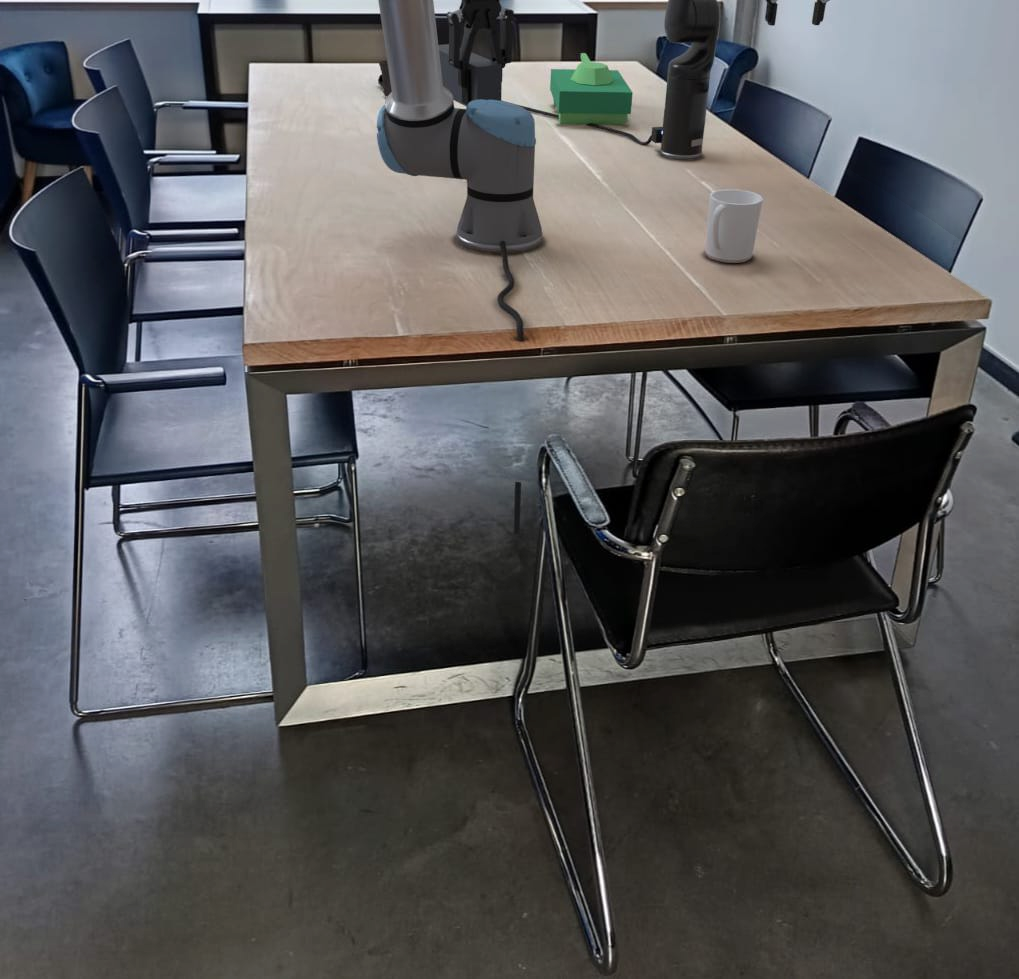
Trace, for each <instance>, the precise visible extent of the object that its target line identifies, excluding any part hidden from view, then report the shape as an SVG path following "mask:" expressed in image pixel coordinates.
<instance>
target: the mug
mask: <svg viewBox="0 0 1019 979" xmlns="http://www.w3.org/2000/svg"><path fill="white" fill-rule="evenodd" d="M708 197H709V198H708V208H707V209H708V210H707V223H706V224H707V225H706V238H705V255H706V257H708V258H709V259H711V260H714V261H716V262H719V263H720V262H721V263H728V264H738V263H745V262H748V261H750V260H751V259H752V257H753V253H754V248H755V242H756V237H757V231H758V227H759V222H760V216H761V210H762V206H763V200H764V199H763V196H762V195H760V194H759V193H756V192H753V191H750V190H744V189H736V188H735V189H734V188H725V189H717V190H713V191H711V192H710V193H709V196H708Z"/></svg>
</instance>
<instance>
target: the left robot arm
mask: <svg viewBox="0 0 1019 979" xmlns="http://www.w3.org/2000/svg"><path fill="white" fill-rule="evenodd" d="M377 2H378V7H379V14H380V22H381V27H382V34H383V40H384V48H385V55H386V60H387V62H388V69H389V75H390V82H391V89H392V92H391V93H390V94H389V95H388V97H387V96H386V98H385V100H384V104H383V105H382V106H381V108H380V109H379V112H378V115H377V119H376V129H377V133H376V140H377V141H376V142H377V147H378V150H379V154H380V156H381V159H382V161H383V162H384V164H385V166H386V167H387V168H388V169H389V170H391V171H392V172H394V173H398V174H404V175H408V176H411V177H418V176H420V177H433V178H445V179H456V180H465V181H466V192H467V193H466V198H465V202H464V205H463V209H462V211H461V214H460V218H459V220H458V224H457V228H456V241H457V243H458V244H459V245H461V246H462V247H464V248H466V249H468V250H470V251H475V252H479V253H486V254H497V255H499V254H500V255H501V262H502V269H503V272H504V275H505V276H506V278H507V280H508V281H507V282H508V283H507V286H506V287H504V288H503V289H502V290H501V291H500V292H499V294H498V295H497V303H498V306H500V308H501V309H503V311H505V312H506V313H508V314H509V315H510V316H511V317H512V318H513V319H514V321H515V323H516V339H517V342H521V343H522V342H524V341H525V336H524V320H523V319H522V317H521V314H520V313H518V311H517V310H516V309H514V308H513V307H512V306H510V305H509V304H508V303H506V301H505V300H504V299H505V297H506V296H507V295H508V294H509V293H510V292H512V290H513V289H514V287H515V278H514V275H513V274H512V272H511V270H510V265H509V257H508V254H517V253H524V252H527V251H530V250H533V249H536V248H538V247H539V246H540V245H541V244H542V243H543V229H542V224H541V221H540V220H541V219H540V218H539V214H538V213H539V212H538V210H537V206H536V204H535V199H534V184H535V181H534V180H535V158H536V156H535V155H536V144H537V138H536V123H535V118H534V116H533V114H532V112H531V111H527V110H526V109H524V108H523V107H520V106H518V105H519V104H517V105H515V104H516V103H513V104H512V102H509V101H505V102H503V101H504V100H502V101H498V100H482V99H480V100H473V101H471V71H470V70H468V69H467V68H468V64H469V60H470V56H471V52H472V51H473V47H474V42H475V38H476V35H477V34H478V31H479V30H481V29H483V31H484V32H485V35H486V40H487V44H488V48H489V53H490V57H491V61H494V62H496V63H498V64H501V65H502V70H503V69H504V68H505V67H506V65H507V64H511V63H512V61H513V56H512V55H513V52H512V46H513V45H512V22H513V21H512V20H513V18H514V14H515V11H514V9H511V8H507V7H502V4H501V1H500V0H461V2H460V4H459V8H458V9H457V10H456V9H455V11H448V12H446V19H447V22H448V44H449V65H450V66H452V67H455V68H457V69H458V85H459V86H460V87H462V103H464V104H466V105H467V107H466V106H465V108H458V107H455V101H454V100H453V95H452V93H451V92H450V91H449V90H448V89H447V88H445V87H444V86H443V83H442V74H441V65H440V56H439V47H438V45H439V40H438V38H439V37H438V31H437V21H436V12H435V4H434V0H377ZM498 17H499V33H500V34H499V36H500V37H499V36H498V27H497V22H496V21H497V18H498ZM462 18H463V20H464V21H465V22H464V26H463V36H462V41H461V23H462ZM499 38H500V40H499ZM460 48H461V49H460ZM508 102H509V103H508ZM521 501H522V482H520V481H515V482H514V505H513V507H514V510H513V516H514V517H513V534H515V535H519V534H520V533H521V505H522V504H521V503H522V502H521Z"/></svg>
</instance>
